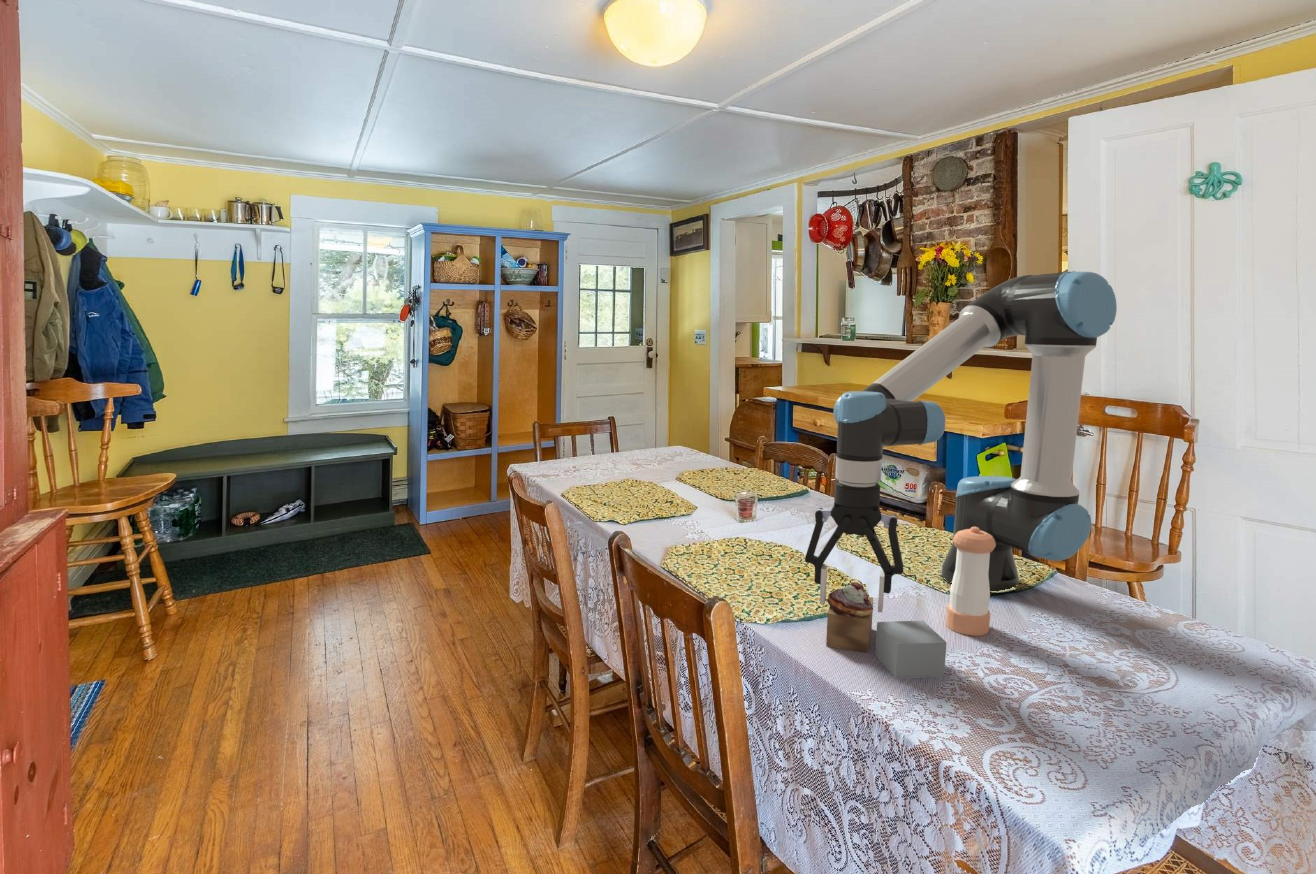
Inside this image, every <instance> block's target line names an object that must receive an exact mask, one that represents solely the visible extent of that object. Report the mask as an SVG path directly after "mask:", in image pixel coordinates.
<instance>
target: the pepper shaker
mask: <svg viewBox="0 0 1316 874" xmlns="http://www.w3.org/2000/svg"><path fill="white" fill-rule="evenodd" d="M953 542H954V545H955V547H957V556H956V567H955V572H954V576H953V580H952V584H950V591H949V593H950V594H949V603H948V604H947V606H946V617H945V625H946V626H947V628H948V629H950V630H952V631H953V632H956V633H958V634H961V635H966V636H972V637H973V636H975V637H976V636H984V635H986V634H988V633H989V632H990V621H991V612H990V610H989V609H990V608H989V606H990V599H991V593H990V588H989V577H988V572H989V559H990V552H992V551H993V550H994V548H995V546H996V544H995V540H994V538H993V536H992V535H990V534H988V533H986V532H984V531H981V530H980V529H979V528H978V527H971V529H965V530H961V531H958V532H957V533H956V534H955V535H954V538H953V537H952V543H953Z"/></svg>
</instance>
